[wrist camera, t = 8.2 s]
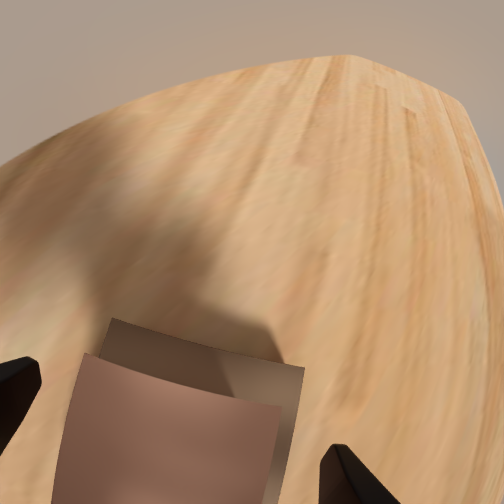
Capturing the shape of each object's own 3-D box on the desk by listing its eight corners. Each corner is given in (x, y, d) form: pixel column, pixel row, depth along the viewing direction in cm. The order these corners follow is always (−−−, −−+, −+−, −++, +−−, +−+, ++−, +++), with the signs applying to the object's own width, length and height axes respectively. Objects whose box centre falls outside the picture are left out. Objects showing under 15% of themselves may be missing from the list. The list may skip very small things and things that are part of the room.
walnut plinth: (256, 529, 13) (265, 546, 10) (84, 483, 13) (66, 492, 10) (290, 374, 19) (304, 367, 16) (124, 331, 18) (112, 317, 16)
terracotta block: (221, 495, 12) (242, 574, 4) (125, 470, 12) (49, 517, 4) (240, 409, 14) (282, 406, 7) (146, 385, 14) (84, 352, 7)
